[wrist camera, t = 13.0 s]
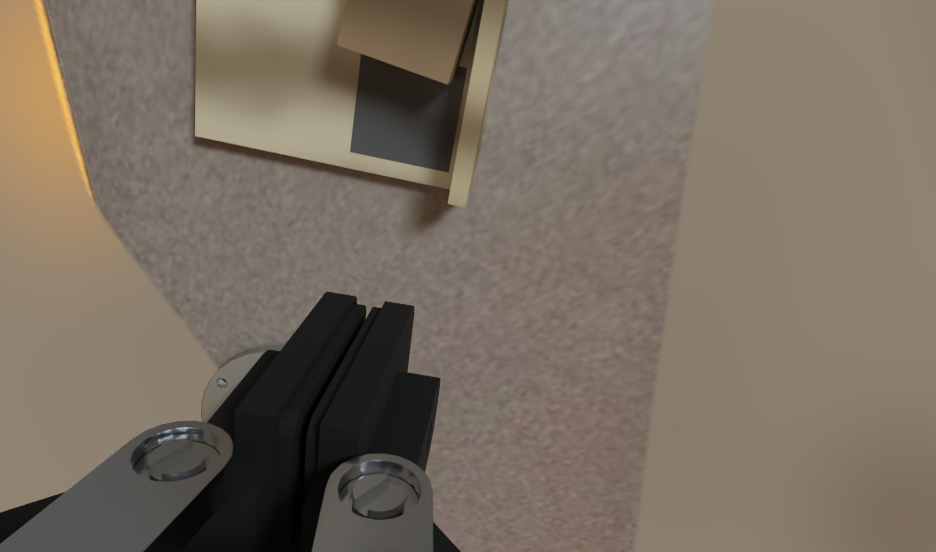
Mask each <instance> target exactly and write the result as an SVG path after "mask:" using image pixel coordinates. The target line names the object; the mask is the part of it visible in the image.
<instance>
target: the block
mask: <svg viewBox="0 0 936 552" xmlns="http://www.w3.org/2000/svg"><path fill="white" fill-rule="evenodd" d="M478 2H479V0H347V1H346V6H345V10H344V15H343V19H342V23H341V28H340V32H339V37H338V41H337V45H338V46H341V47H344V48H347V49H349V50H352V51H355V52H358V53H361V54H363V55H366V56H369V57H372V58H375V59H377V60H380V61H383V62H386V63H389V64H391V65H394V66H397V67H400V68H403V69H405V70H408V71H411V72H414V73H417V74H419V75H422V76H425V77H428V78H431V79H433V80H436V81H439V82H442V83H445V84H447V85H448V84H449V83H451V82H452V81H453V80H455V76H456V73H457V70H458V67H459V63H460V60H461V57H462V54H463V51H464V47H465V44H466V41H467V38H468V34H469V31H470V28H471V25H472V21H473V18H474V15H475V12H476V8H477V5H478Z"/></svg>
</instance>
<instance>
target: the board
mask: <svg viewBox="0 0 936 552" xmlns="http://www.w3.org/2000/svg"><path fill="white" fill-rule="evenodd" d="M346 1H347V0H196V91H195V136H197V137H202V138H207V139H212V140H216V141H221V142H226V143H231V144H236V145H240V146H245V147H250V148H255V149H259V150H264V151H269V152H274V153H278V154H283V155H288V156H293V157H297V158H302V159H307V160H312V161H316V162H321V163H326V164H331V165H335V166H340V167H345V168H350V169H354V170H359V171H364V172H369V173H374V174H378V175H383V176H388V177H393V178H397V179H402V180H407V181H412V182H416V183H421V184H426V185H431V186H435V187H440V188H445V189H450V193H449V199H448V204H450V205H455V206H460V207H464V208H465V207H466V204H467V201H468V199H469V196H470V193H471V190H472V186H473V181H474V176H475V171H476V166H477V160H478V155H479V150H480V145H481V140H482V135H483V130H484V125H485V120H486V114H487V109H488V104H489V99H490V94H491V89H492V84H493V79H494V74H495V68H496V63H497V58H498V53H499V48H500V43H501V38H502V33H503V28H504V22H505V17H506V12H507V7H508V2H509V0H479V5H478V11H477V16H476V22H475V28H474V33H473V39H472V44H471V49H468V48H464V51H463V54H462V57H461V60H460V63H459V67H458V70H457V73H456V76H455V80H453V81H452V82H451V83H449V84H448V85H447V84H445V83H442V82H439V81H436V80H433V79H431V78H428V77H425V76H422V75H419V74H417V73H414V72H411V71H408V70H405V69H403V68H400V67H397V66H394V65H391V64H389V63H386V62H383V61H380V60H377V59H375V58H372V57H369V56H366V55H363V54H361V53H358V52H355V51H352V50H349V49H347V48H344V47H341V46H338V45H337V41H338V37H339V32H340V28H341V23H342V19H343V15H344V10H345V6H346Z"/></svg>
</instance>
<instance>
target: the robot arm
mask: <svg viewBox="0 0 936 552" xmlns="http://www.w3.org/2000/svg"><path fill="white" fill-rule="evenodd" d="M365 319H366V320H365ZM413 319H414V306H411V305H405V304H399V303H393V302H387V301H385V303H384V304H383V306H382V308H377V307H373V308H372V309H371V311H370V313H369V315H368V316H367V318H366V306H365V305H359V304H357V298H356V296H350V295H344V294H338V293H332V292H326V293H325V294H324V295H323V297H322V298H321V299H320V300H319V302H318V303H317V304H316V306H315V307H314V308H313V309H312V311H311V312H310V313H309V315H308V316H307V317H306V319H305V320H304V321H303V322H302V324H301V325H300V326H299V328H298V329H297V330H296V332H295V333H294V334H293V335H292V337H291V338H290V339H289V341H288V342H287V343H286V344H285V346H284V347H278V346H271V347H259V348H255V349H252V350H248V351H245V352H242V353H241V354H239V355H237V356H235V357H233V358H231V359H230V360H229V361H228V362H226V363H225V364H224V365H223V366H222V367H221V368H220V369H219V370H218V371H217V372H216V373H215V374H214V376H213V377H212V378H211V380H210V382H209V383H208V385H207V387H206V389H205V391H204V395H203V399H202V408H201V409H202V411H201V416H202V422H198V421H178V422H173V423H167V424H163V425H159V426H157V427H154V428H151V429H149V430H146V431H144V432H143V433H141V434H140V435H138V436H136V437H135V438H133V439H132V440H130V441H129V442H128V443H126V444H125V445H124V446H123V447H121V448H120V449H119V450H118V451H116V452H115V453H114V454H113V455H111V456H110V457H109V458H108V459H106V460H105V461H104V462H103V463H101V464H100V465H99V466H98V467H96V468H95V469H94V470H93V471H91V472H90V473H89V474H87V475H86V476H85V477H84V478H82V479H81V480H80V481H79V482H77V483H76V484H75V485H74V486H72V487H71V488H70V489H69V490H67V491H66V492H64V493H61V494H58V495H55V496H51V497H48V498H45V499H42V500H39V501H36V502H32V503H29V504H26V505H23V506H20V507H16V508H13V509H10V510H7V511H4V512H1V513H0V552H460V551H459V549H458V548H457V547H456V546H455V545H454V544H453V543H452V542H451V541H450V540H449V539H448V538H447V536H446V535H445V534H444V533H443V532H442V531H441V530H440V529H439V528H438V527H437V526H436V524H435V523H434V522H433V491H432V486H431V482H430V479H429V478H428V476H427V475H426V474H425V469H426V465H427V460H428V456H429V451H430V446H431V440H432V435H433V429H434V423H435V417H436V410H437V403H438V396H439V388H440V378H437V377H431V376H425V375H419V374H413V373H407V371H408V362H409V353H410V345H411V336H412V328H413Z"/></svg>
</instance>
